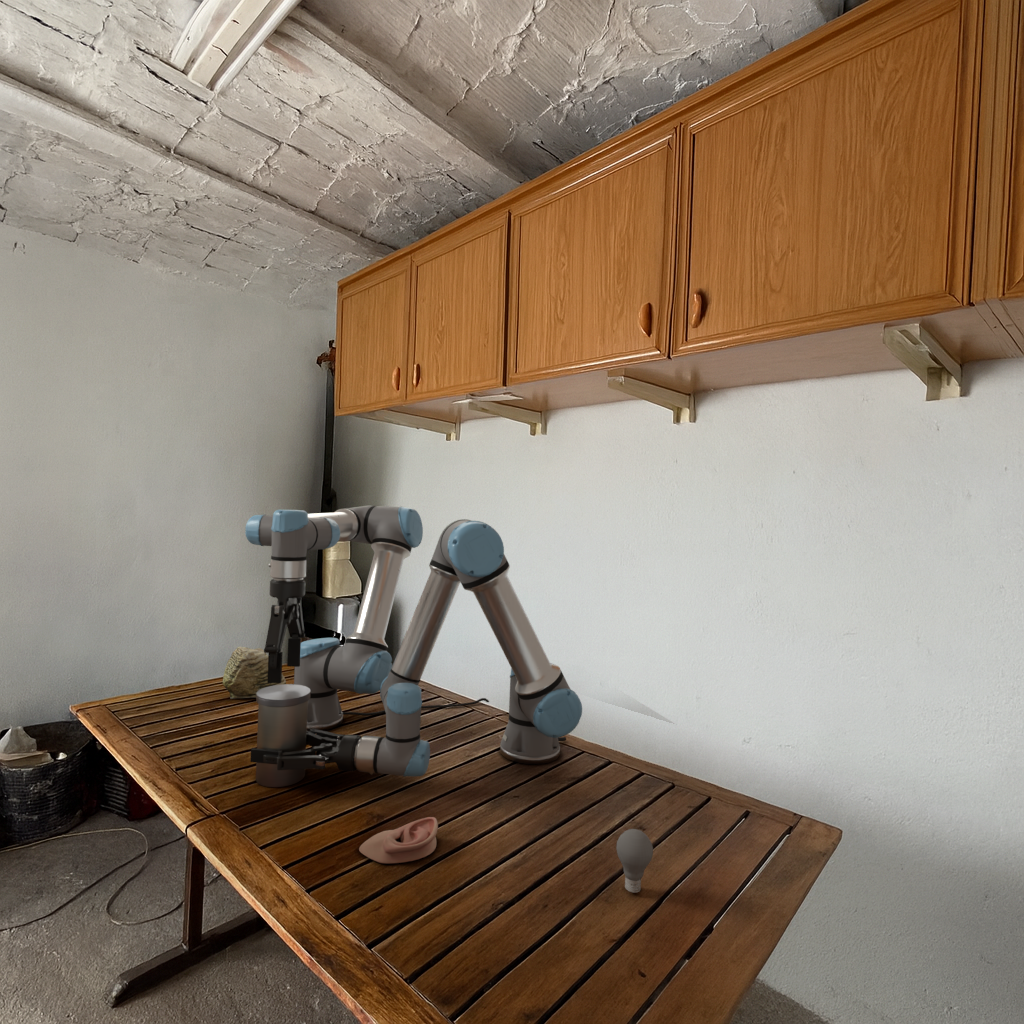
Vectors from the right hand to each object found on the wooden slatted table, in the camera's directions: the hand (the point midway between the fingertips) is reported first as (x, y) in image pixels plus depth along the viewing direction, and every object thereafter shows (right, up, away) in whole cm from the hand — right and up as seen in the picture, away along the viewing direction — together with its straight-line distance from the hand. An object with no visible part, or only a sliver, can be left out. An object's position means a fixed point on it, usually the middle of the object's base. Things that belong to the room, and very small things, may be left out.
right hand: (264, 745), depth 143 cm
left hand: (+5, +16, -1) cm, 17 cm away
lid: (+5, +12, -1) cm, 13 cm away
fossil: (-25, -5, +55) cm, 61 cm away
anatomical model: (+35, -9, -27) cm, 45 cm away
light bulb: (+76, -11, -37) cm, 85 cm away
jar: (+4, -7, 0) cm, 8 cm away
